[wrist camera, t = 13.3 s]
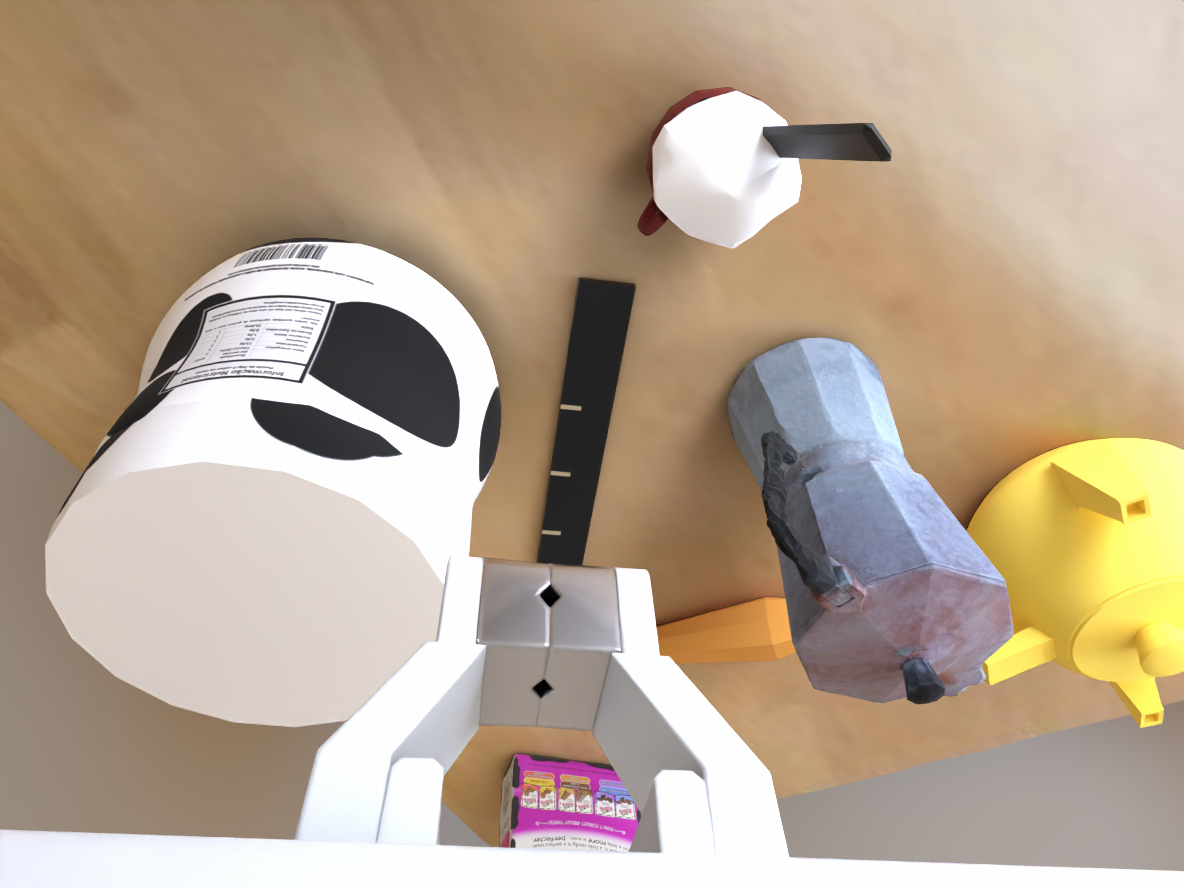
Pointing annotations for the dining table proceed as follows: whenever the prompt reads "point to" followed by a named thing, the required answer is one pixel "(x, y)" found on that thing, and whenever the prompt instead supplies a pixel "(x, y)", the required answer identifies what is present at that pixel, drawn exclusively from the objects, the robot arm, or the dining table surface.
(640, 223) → the cocoa
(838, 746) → the dining table surface
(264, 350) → the milk container
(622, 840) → the candy bar box
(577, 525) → the ruler
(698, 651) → the carrot
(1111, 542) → the teapot
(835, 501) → the moka pot
